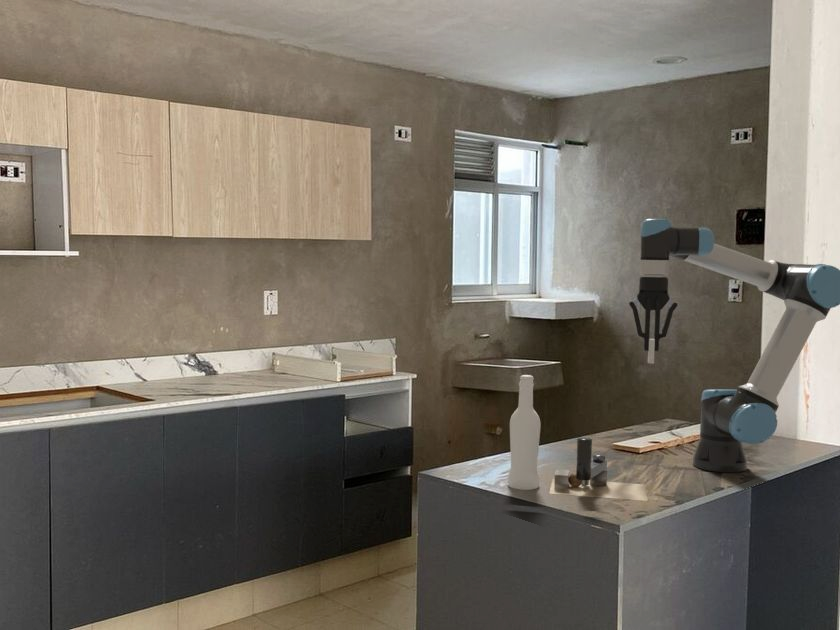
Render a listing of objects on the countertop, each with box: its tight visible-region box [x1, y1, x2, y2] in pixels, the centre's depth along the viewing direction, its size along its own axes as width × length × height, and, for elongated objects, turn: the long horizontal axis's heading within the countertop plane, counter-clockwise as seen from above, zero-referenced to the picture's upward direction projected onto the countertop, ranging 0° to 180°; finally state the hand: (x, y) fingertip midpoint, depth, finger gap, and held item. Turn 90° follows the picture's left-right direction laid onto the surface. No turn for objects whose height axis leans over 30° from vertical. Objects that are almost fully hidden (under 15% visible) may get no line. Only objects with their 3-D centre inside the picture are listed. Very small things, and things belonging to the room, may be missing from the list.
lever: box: [575, 437, 608, 487], centre depth 219 cm, size 4×15×14 cm, turn 148°
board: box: [548, 469, 649, 502], centre depth 220 cm, size 24×16×5 cm, turn 78°
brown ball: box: [568, 472, 582, 487], centre depth 221 cm, size 4×4×4 cm
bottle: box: [507, 374, 542, 491], centre depth 221 cm, size 8×8×30 cm
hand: (650, 362), depth 233 cm, fingers closed
